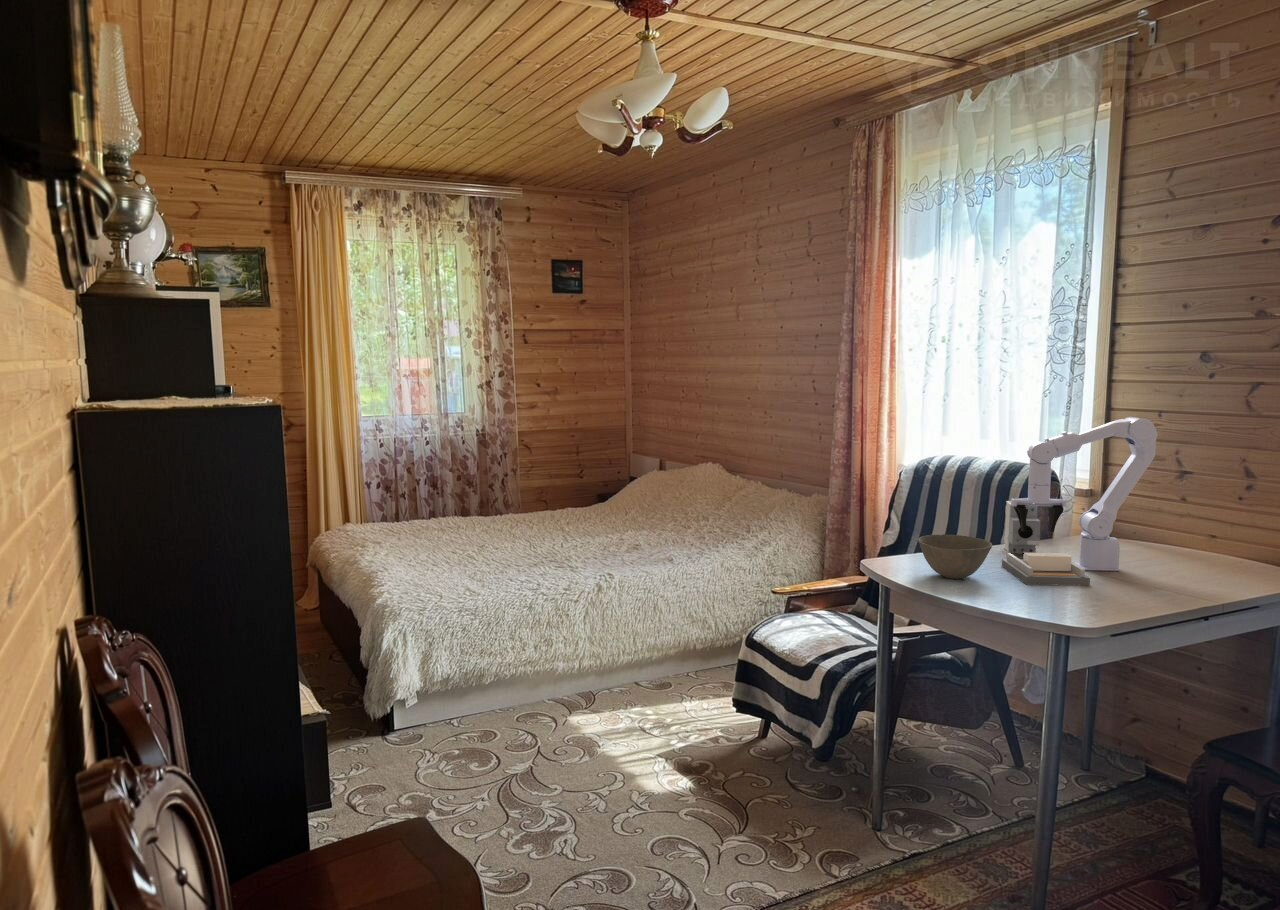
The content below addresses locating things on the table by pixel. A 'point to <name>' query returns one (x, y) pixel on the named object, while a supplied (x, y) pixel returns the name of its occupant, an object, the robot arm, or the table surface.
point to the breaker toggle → (1048, 561)
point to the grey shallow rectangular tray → (1045, 573)
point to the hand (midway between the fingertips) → (1037, 531)
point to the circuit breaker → (1015, 537)
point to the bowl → (954, 554)
